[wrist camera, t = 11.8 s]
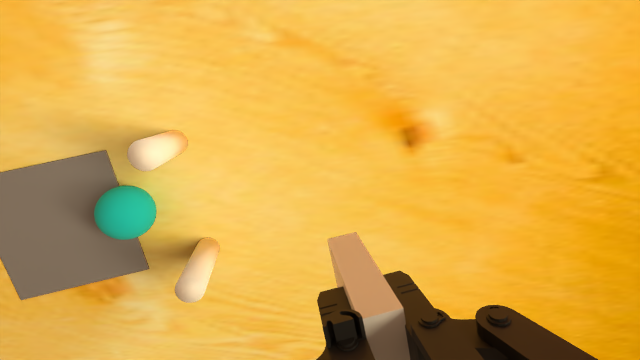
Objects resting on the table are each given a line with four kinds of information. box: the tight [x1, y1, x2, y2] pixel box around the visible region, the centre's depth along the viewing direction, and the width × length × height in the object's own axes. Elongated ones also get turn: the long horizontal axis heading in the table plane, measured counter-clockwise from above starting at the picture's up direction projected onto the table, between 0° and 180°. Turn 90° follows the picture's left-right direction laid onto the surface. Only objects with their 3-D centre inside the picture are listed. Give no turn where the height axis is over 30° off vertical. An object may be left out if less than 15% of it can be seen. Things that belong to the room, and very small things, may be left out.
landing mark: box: [0, 150, 149, 300], centre depth 37 cm, size 14×14×1 cm
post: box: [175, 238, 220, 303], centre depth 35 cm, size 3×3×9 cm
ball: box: [94, 186, 156, 240], centre depth 35 cm, size 6×6×6 cm
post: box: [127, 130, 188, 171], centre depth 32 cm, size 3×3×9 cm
